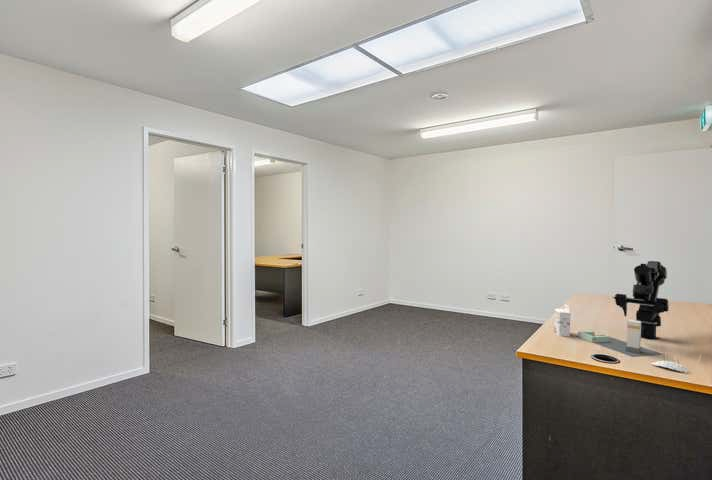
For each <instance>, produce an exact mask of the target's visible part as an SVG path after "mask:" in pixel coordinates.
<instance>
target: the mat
mask: <svg viewBox="0 0 712 480" xmlns="http://www.w3.org/2000/svg"><path fill="white" fill-rule="evenodd" d="M597 336H606V335H605V334H599V335H598V334H597ZM574 337H575V338H578V339H580V340H583V341H587V342H589V343H592V344H595V345H598V346H601V347H603V348H607V349H608V350H612V351H615V352H618V353H621V354H624V355H626V356H629V357H631V358H639V357H651V356H652V357H653V356H666V355H665V353H661V352H658V351H656V350H652V349H650V348H649V349H648V348H645V347H642V346H641V352H640V353H639V354H638V353H633V352H627V351H626V346H627V341H624V340H620V339H617V338H615V337H611V336H609V342H597V343H593V342H590V341H588V340H585V339H582V338H579V337H578V336H577V335H575V336H574Z"/></svg>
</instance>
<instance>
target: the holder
mask: <svg viewBox="0 0 712 480" xmlns="http://www.w3.org/2000/svg"><path fill="white" fill-rule="evenodd" d="M597 335H598V334H597ZM597 335H596V334H595V331H593V330H590V331H578V337H579V338H578V337H577V338H578V339H581V338H582V339H581V340H583V339H585V340H584V341H586V340H588V341H587V342H589V341H590V342H589V343H592V342H593V343H592V344H595V343H597V342H609V337H610V335H605V336H597Z"/></svg>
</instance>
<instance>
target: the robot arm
mask: <svg viewBox="0 0 712 480" xmlns="http://www.w3.org/2000/svg"><path fill="white" fill-rule="evenodd" d="M633 272H634V276H635V277H634V279H635V281H636V284H633V287H632V297H627V294H623V293H616V294H615V296H614V301H615V304H616V306H617V307H619V308H622V310H623V315H624V317H627V315H628V314H627V312H628V303H630V304H637V305H639V307H638V310H636V313H635V316H636V317H635V318H636V319H635V321H641V338H643V339H645V340H655V339H656V340H657V339H660V337H659V336H657V327H661V326H662V321H661V320H662V318H661V316H660V314H661V313H664V312H669V305H670V304H669V300H668V299H667V298H662V297H661V298H660V297H658V294H659V290H660V286H662V285H664V284H665V280H666V279H667V276H668V270H667V268H666V267H665V266H664V265H663V264H662V262H660V261H657V260H656V261H654V260H649V261H648V260H647V263H640V264H639V265H637V266H635V267H634V269H633Z"/></svg>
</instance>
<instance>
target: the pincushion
mask: <svg viewBox="0 0 712 480" xmlns="http://www.w3.org/2000/svg"><path fill="white" fill-rule="evenodd" d="M665 356H669V355H668V354H667V355H663V360H656V361H653V362H652V363H650V365H652V366H655V367H662V368H667V369H668V371H669V370H670V369H671V370H673V371H675V372H676V371H677V372H680V373H684V374H689V375H690V374H692V373H691V371H690V370H689V369H688V368H686V366H683V365H682V364H680V363H679V360H680V359H679V358H677V362H676V361H670V360H665Z"/></svg>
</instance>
